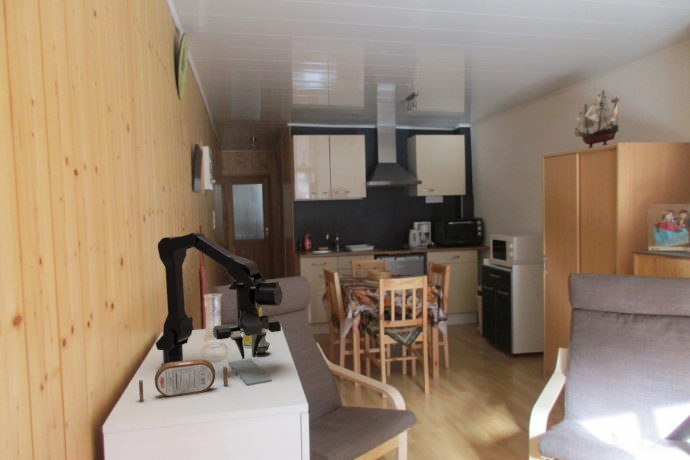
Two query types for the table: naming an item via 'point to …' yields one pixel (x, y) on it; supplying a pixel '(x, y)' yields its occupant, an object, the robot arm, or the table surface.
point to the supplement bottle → (247, 341)
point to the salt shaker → (262, 348)
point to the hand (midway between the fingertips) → (248, 357)
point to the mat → (250, 372)
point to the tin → (184, 377)
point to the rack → (225, 379)
